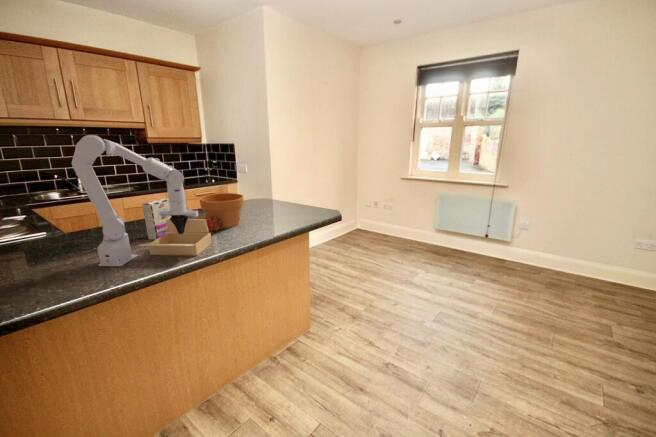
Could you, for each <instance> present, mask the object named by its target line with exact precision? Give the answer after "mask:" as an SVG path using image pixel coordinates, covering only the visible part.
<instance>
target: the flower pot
mask: <svg viewBox="0 0 656 437" xmlns="http://www.w3.org/2000/svg"><path fill="white" fill-rule="evenodd" d="M244 199H245V198H244V195H243V194H241V193H236V192H234V193H233V192H232V193H231V192H220V193H212V194H207V195H203V196H201V197H199V204H200V208H201V209H203V212H204V214H205V217H208V218H209V217H211V216H213V217H214V218H215V217H218V218H219V219H221V220H222V226H221V230H222V229H228V228H234V227H236V226H238V225H239V224H240V218H241V213H242V207H243V206H244Z"/></svg>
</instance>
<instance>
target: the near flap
mask: <svg viewBox="0 0 656 437" xmlns="http://www.w3.org/2000/svg"><path fill="white" fill-rule="evenodd" d="M139 246H140V247H141V246H144V247H145V246H147V247H149V246H194V244H150V243H145V244H142V243H141V244H139Z"/></svg>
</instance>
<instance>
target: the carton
mask: <svg viewBox="0 0 656 437" xmlns="http://www.w3.org/2000/svg"><path fill="white" fill-rule="evenodd" d="M149 244H194V246H148V248H149V254H150V256H187V257H188V256H189V257H190V256H193V257H194V256H195V257H196V256H199V255H200V254H201V253H202V252H203V251H204V250H205V249H207V248H208V246H210V245H211V244H212V235H211V232H209V233H202V232H184V233H183V234H178V232H175V233H171V232H168V233H167V234H165V235H163V236H162V237H160V238H158V239H156V240H152V242H150V243H149Z"/></svg>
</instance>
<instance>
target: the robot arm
mask: <svg viewBox="0 0 656 437" xmlns="http://www.w3.org/2000/svg"><path fill="white" fill-rule="evenodd" d="M104 152H105V153H106V154H105V155H113V156H115V155H116V156H119V157H120V158H123V159H126V160H128V161H129V162H132V163H135V165H136V164H137V165H139V166H140V167H142V169H143V171H144V172H145V173H147V174H149V175H151V176H154V177H155V178H158V179H160V180H164V181H165V182H166V186H167V190H166V191H167V199H169V206H170V210H161V211H159V216H171V218H170V220H171V221H172V223H173V224H174V225H175V227H176V229H177V231H178V232H177V233H178V234H183V233H185V232H184V230H185V225H186V221H187V219H189V217H193V218H196V217H198V216H199V211H198V210H192V209H187V204H186V195H185V188H184V184H183V183H184V181H185V177H184V175H183V173H182V172H181V171H179V170H177V169H176V168H175V167H173V166H172V165H168V164H166V163H164V162H162V161H160V159H159V158H157V157H155V158H154V157H148V158H146V157H144V156H142V155H140V154H138V153H136V152H134V151H132V150H131V149H128V148H127V147H125V146H123V145H121V144H120V143H117V142H113V141H111V140H110V139H109V140H108V139H105V138H104V139H103V138H101V137H100V136H99V135H95V134H87V135H85V136H83V137H82V138H81V139H79V141H78V142H77V143H76V144H75V149H74V153H73V156H72V161H71V166H72V168H73V170H74V172H75V174H76V176H77V177H78V180H79V181H80V184H81V185H82V187H83V189H84V191H85V193H86V195H87V196H88V198H89V201H90V202H91V204H92V206H93V208H94V209H95V211H96V213H97V216H98V218H99V221H100V223H101V226H102V235H103V236H102V239H103V240H102V242H101V243H100V244H98V246H97V254H98V259H99V264H98V266H99V267H122V266H124V265H125V264H127V263H128V262H130V261H131V260H133V259H135V258H137V257H138V254H132V251H131V245H130V240H129V234H128V233H127V232H126V228H125V221H124V220H123V219H122V218H121V217H120V216H118V214H117V212H116V211H115V210H114V209H115V208H114V207H113V206H112V203H111V201H110V199H109V198H108V196H107V194H106V192H105V190H104V188H103V186H102V184H101V182H100V180H99V177H98V175H96V172H95V170H94V167H93V165H94V163H95V161H96V159H97V158H98V157H99V156H102V154H103V153H104Z"/></svg>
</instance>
